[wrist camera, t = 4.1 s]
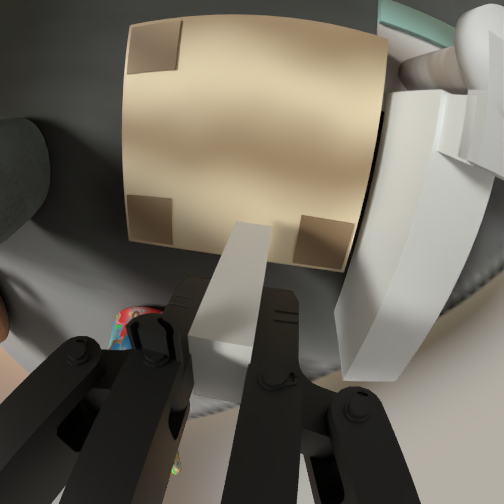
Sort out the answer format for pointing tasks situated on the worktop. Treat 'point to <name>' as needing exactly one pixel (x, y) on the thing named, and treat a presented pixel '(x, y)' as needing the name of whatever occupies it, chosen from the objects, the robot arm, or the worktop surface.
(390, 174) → the hinged leg
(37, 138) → the bottle
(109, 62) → the worktop surface
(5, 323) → the ceramic jug
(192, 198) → the stool seat
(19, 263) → the worktop surface
